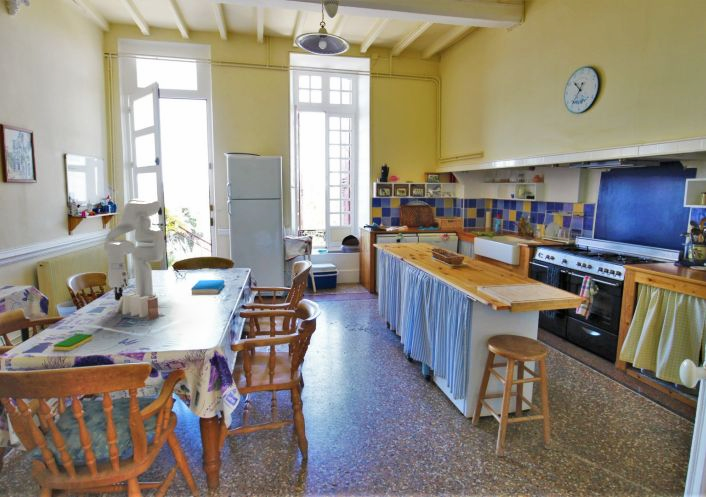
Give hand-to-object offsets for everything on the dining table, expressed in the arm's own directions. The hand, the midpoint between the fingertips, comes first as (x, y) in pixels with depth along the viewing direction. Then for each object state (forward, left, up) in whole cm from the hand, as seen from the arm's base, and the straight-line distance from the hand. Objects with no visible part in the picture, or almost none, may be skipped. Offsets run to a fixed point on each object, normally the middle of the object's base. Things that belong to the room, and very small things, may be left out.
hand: (118, 299), depth 220 cm
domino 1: (0, 0, -6) cm, 6 cm away
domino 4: (+18, 0, -7) cm, 19 cm away
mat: (+12, 0, -8) cm, 14 cm away
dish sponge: (+20, -39, -8) cm, 44 cm away
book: (+6, +63, -8) cm, 64 cm away
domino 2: (+6, 0, -7) cm, 9 cm away
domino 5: (+24, 0, -7) cm, 25 cm away
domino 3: (+12, 0, -7) cm, 13 cm away
